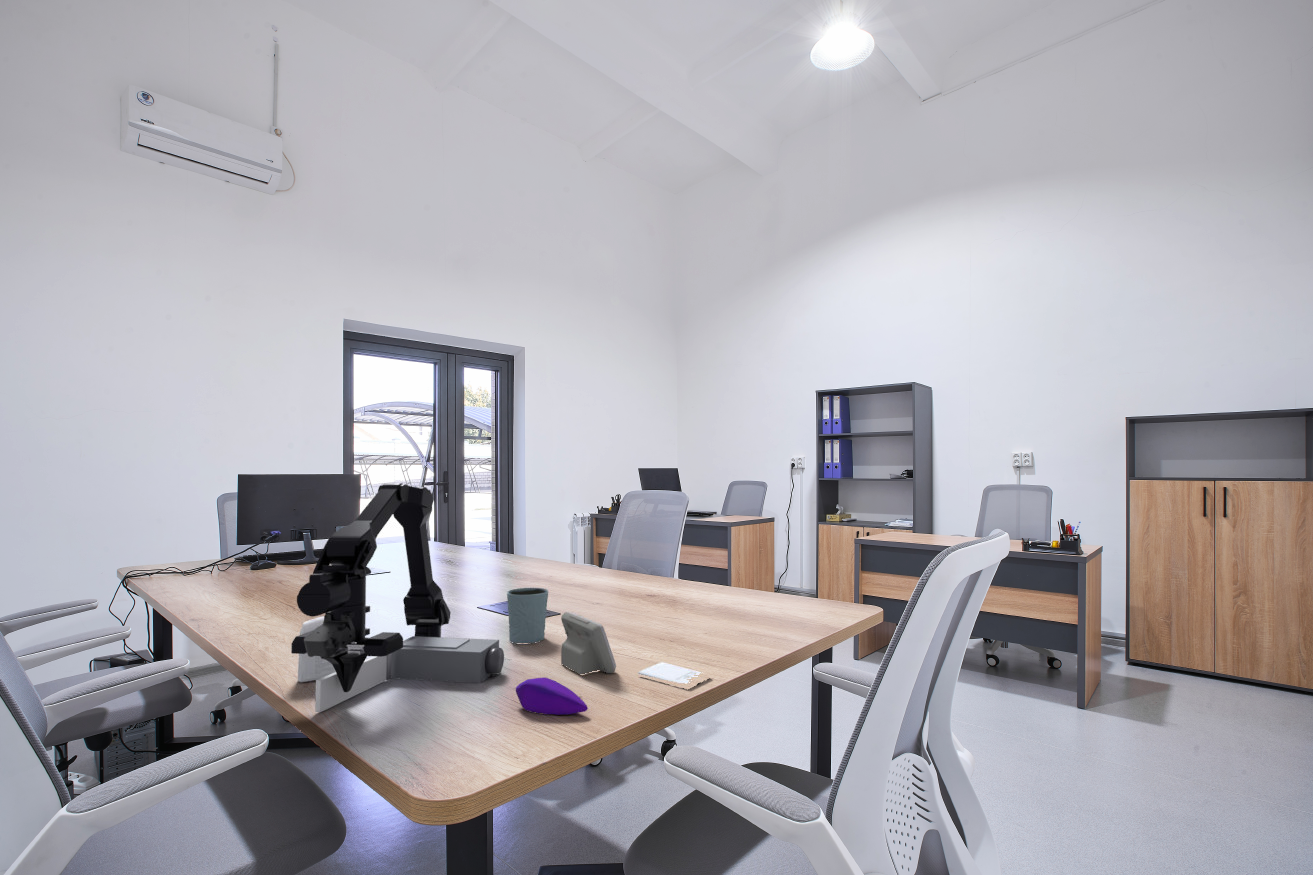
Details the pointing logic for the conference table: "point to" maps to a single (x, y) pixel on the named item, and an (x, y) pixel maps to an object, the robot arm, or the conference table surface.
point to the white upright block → (313, 658)
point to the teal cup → (527, 614)
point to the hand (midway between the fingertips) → (347, 691)
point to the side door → (368, 676)
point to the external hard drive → (669, 672)
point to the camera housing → (447, 659)
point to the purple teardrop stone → (548, 697)
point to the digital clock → (585, 645)
